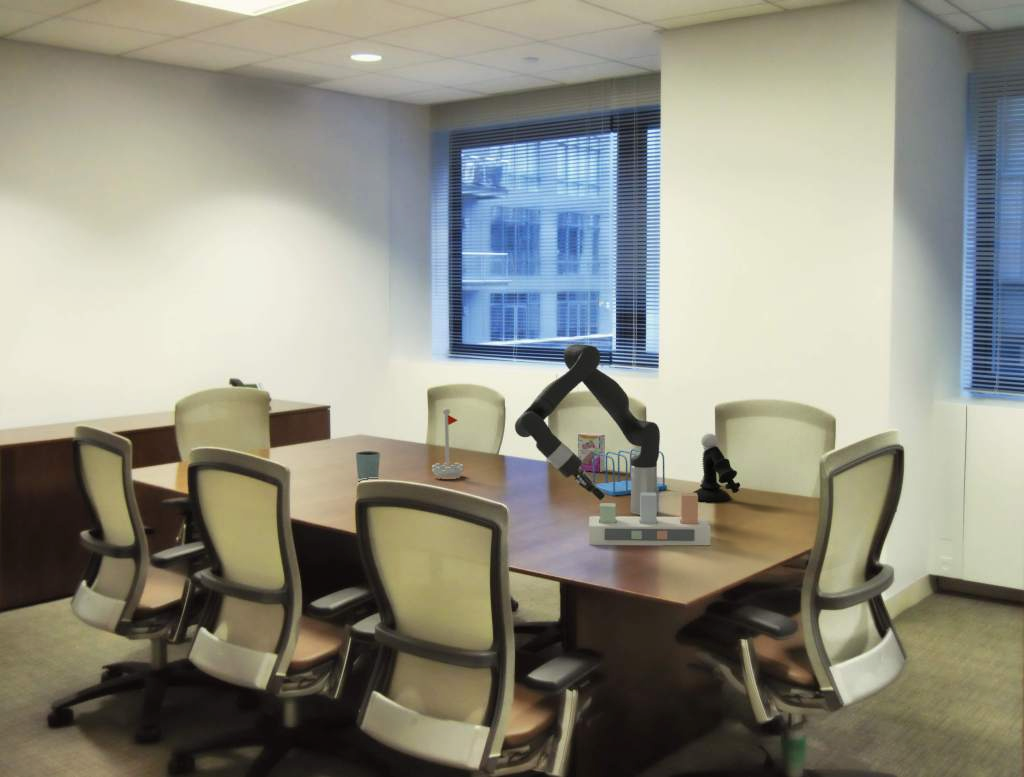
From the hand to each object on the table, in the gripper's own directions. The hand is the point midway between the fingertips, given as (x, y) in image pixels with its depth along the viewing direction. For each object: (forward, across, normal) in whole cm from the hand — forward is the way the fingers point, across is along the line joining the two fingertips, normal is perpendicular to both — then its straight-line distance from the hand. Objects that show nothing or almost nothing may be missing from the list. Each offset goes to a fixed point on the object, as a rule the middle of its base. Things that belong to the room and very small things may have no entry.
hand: (602, 497), depth 334 cm
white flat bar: (+20, 0, -1) cm, 20 cm away
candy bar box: (+6, +121, +13) cm, 122 cm away
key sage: (+10, 0, +8) cm, 12 cm away
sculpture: (+40, +60, -20) cm, 75 cm away
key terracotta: (+26, 0, -13) cm, 29 cm away
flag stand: (-37, +105, +57) cm, 125 cm away
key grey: (+16, 0, -4) cm, 17 cm away
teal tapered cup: (-60, +97, +80) cm, 139 cm away
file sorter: (+17, +81, +3) cm, 83 cm away
